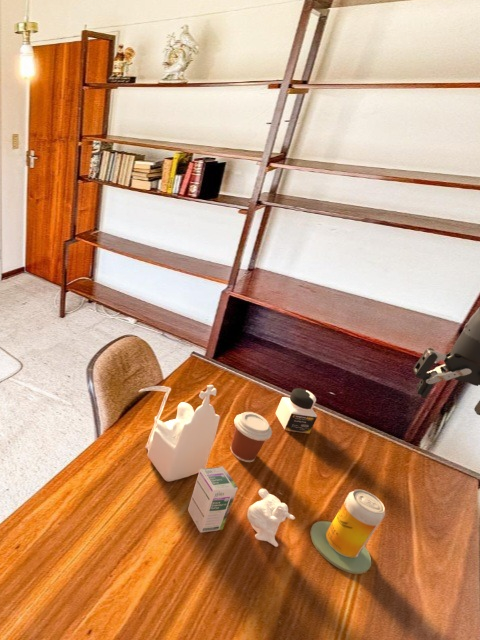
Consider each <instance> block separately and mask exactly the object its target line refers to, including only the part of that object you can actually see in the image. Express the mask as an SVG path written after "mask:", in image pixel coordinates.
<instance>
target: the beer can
mask: <svg viewBox="0 0 480 640" xmlns="http://www.w3.org/2000/svg"><path fill="white" fill-rule="evenodd" d="M385 516H386V508H385V505H384V503H383V502H382V501H381V499H380V498H378V497H377V496H376V495H374V494H373V493H371V492H370V491H366V490H364V489H354V490H353V491H350V492H349V493H348V494H347V496H346V497H345V500H344V501H343V503H342V505H341V506H340V508H339V509H338V512H337V513H336V516H335V517H334V519H333V520H332V524H331V525H330V527H329V529H328V530H327V532H326V538H327V540H328V542H329V544H330V546H331V547H332V548H333V549H334V550H335V551H336V552H338V553H339V554H341V555H343V556H346V557H357V556H358V555H359V554H360V552H361V551H362V549H363V548H364V546H365V547H366V545H367V543H368V542H369V540H370V539H371V537H372V536H373V535H374V532H375V531H376V530H377V528H378V527H379V525H380V524H381V523H382V521H383V520H384V518H385Z"/></svg>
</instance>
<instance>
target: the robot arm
mask: <svg viewBox="0 0 480 640" xmlns="http://www.w3.org/2000/svg"><path fill="white" fill-rule="evenodd" d="M441 361H443V362H444V363H443V364H440V365H439V366H438V365H437V366H436V367H434V369H431V368H432V367H433V365H434V364H438V363H439V362H441ZM430 369H431V370H430ZM412 371H413V373H414V375H415V377H416V378H418V379H420V380H419V383H418V384H417V385H416V388H415V389H416V393H417V395H418V396H419V398H420V399H425V400H426V398H427V397H428V395H429V394H430V392H431V391H432V389H433V387H434V384H436V383H439V382H442V381H443V382H446V381H450V380H453V379H454V380H455V381H457V382H462V383H468V384H470V385H472V386H476V387H478V386H480V306H479V307H478V308H477V309H476V311H475V312H474V313H473V314H472V315H471V317H470V318H469V320H468V321H467V322H466V323H465V325H464V328H463V330H462V332H461V333H460V335H459V336H458V338H457V339H456V340H455V343H454V344H453V346H452V348H451V350H450V351H449V352H448V353H446V354H444V353H441V352H438V351H435V349H434V348H432V347H428V348H426V349H425V350H424V352H423V353H422V355H421V356H420V358H419V359H418V361H417V362H416V363H415V365H414V366H413V368H412ZM473 410H474V412H475V413H476V415H477V416H480V399H479V400H478V402H477V404H476V405H475V406H474V408H473Z"/></svg>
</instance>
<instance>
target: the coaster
mask: <svg viewBox="0 0 480 640" xmlns="http://www.w3.org/2000/svg"><path fill="white" fill-rule="evenodd" d="M332 522H333V521H332ZM332 522H331V521H328V520H327V521H326V520H320V521H319V520H318V521H317V522H315V523H313V524H312V525H311V528H310V530H309V536H310V537H309V538H310V541H311V543H312V544H313V546H314V547H315V549H316V550H317V552H318V553H319V554H320V555H321V556H322V557H323V558H324V559H325V560H326V561H327V562H329V563H330V565H333V566H334V567H336V568H337V569H340V570H342V571H343V572H346V573H349V574H353V575H363V574H366V573H367V572H368V571H369V570H370V569H371V566H372V557H371V555H370V552H369V550H368V549H367V547H366V545H365V546H364V548H363V549H362V551H361V552H360V554H359V555H358V556H357V557H346V556H343V555H341V554H339V553H338V552H336V551H335V550H334V549H333V548H332V547H331V546H330V544H329V542H328V540H327V538H326V532H327V530H328V529H329V527H330V525H331V524H332Z"/></svg>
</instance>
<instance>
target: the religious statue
mask: <svg viewBox="0 0 480 640" xmlns="http://www.w3.org/2000/svg"><path fill="white" fill-rule="evenodd" d="M149 391H150V392H152V391H153V392H164V396H163V400H162V402H161V405H160V407H159V411H158V413H157V415H156V416H154V424H153V425H152V428H151V431H150V433H149V436H148V438H147V439H148V440H147V442H146V444H145V446H144V448H145V450H147V458H148V460H149V461H150V462H151V463H152V465H153V466H154V468H155V469H156V470H157V472H158V473H159V474H160V476H161V477H162V479H163V480H165V481H166V482H174V481H178V480H181V479H185V478H189V477H190V476H193V475H197V474H199V471H200V469H205V468H207V465H208V461H209V459H210V454H211V451H212V449H213V446H214V443H215V439H216V435H217V431H218V428H219V423H220V419H221V415H219V414H216V410H215V407H214V406H213V404H210V399H211V398H210V397H211V396H214V397H216V396H217V393H218V392H217V391H218V390H217V388H216V387H214V385H213V384H209V385H206V391H203V390H201V391H200V392H199V394H198V397H199V399H201V400H203V401H202V403H201V405H199V406H198V407H197V408H196V409H195V410H194V407H193V406H192V405H191V403H188V402H184V401H182V402H180V403H179V404H178V405H177V409H176V410H177V411H176V417H175V418H174V419H170V420H167V421H162V420H160V417H161V415H162V413H163V410H164V408H165V406H166V403H167V400H168V397H169V395H170V393H171V391H172V388H171V387H170V386H165V385H152V386H148V387H144V388H141V389H140V390H138V393H141V392H149Z"/></svg>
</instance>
